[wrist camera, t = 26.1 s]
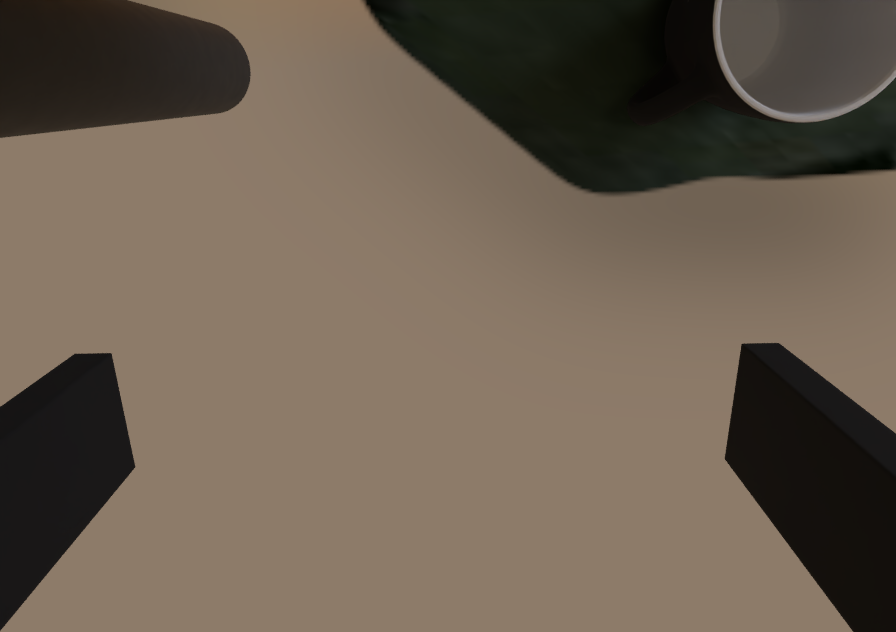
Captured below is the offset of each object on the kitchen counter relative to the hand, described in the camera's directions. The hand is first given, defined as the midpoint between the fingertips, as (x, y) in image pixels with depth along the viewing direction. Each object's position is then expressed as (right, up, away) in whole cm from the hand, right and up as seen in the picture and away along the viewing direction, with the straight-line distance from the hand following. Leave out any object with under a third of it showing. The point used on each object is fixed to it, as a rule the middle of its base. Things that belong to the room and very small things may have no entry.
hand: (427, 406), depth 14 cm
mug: (+14, +17, +22) cm, 32 cm away
